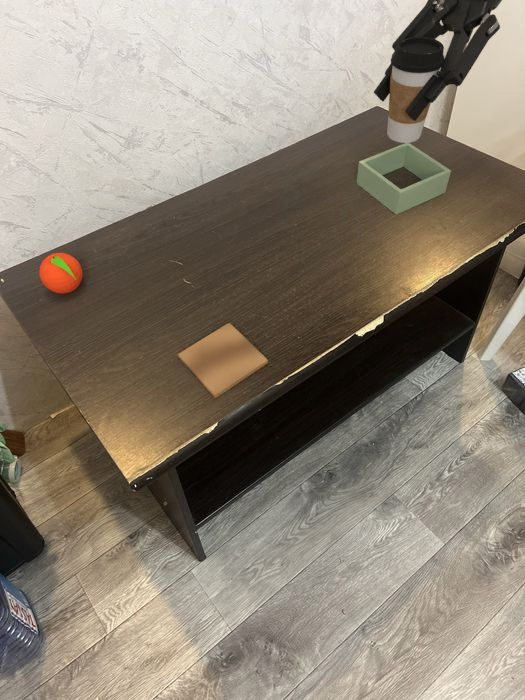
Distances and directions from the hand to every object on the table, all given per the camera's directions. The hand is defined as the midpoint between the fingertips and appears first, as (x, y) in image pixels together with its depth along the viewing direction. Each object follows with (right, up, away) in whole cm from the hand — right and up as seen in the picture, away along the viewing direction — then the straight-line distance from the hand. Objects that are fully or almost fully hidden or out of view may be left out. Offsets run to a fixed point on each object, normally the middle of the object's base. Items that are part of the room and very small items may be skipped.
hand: (394, 106), depth 85 cm
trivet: (-28, -43, -7) cm, 52 cm away
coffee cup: (+3, -2, +6) cm, 7 cm away
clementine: (-56, -31, +4) cm, 64 cm away
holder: (+6, -8, +17) cm, 20 cm away
